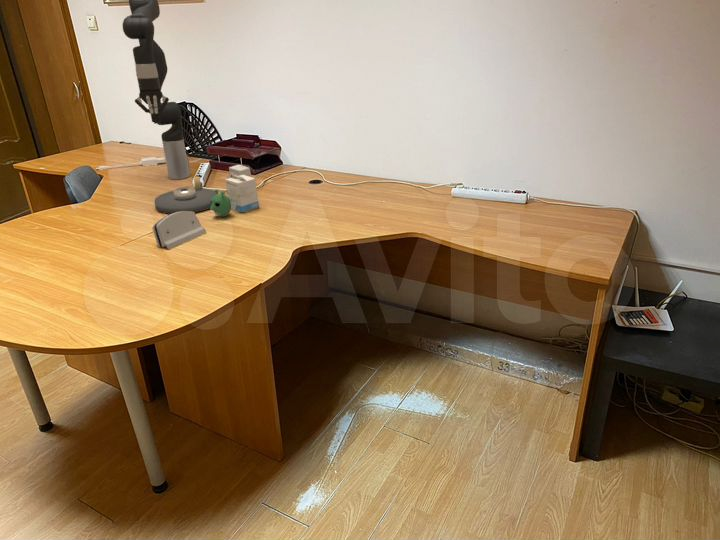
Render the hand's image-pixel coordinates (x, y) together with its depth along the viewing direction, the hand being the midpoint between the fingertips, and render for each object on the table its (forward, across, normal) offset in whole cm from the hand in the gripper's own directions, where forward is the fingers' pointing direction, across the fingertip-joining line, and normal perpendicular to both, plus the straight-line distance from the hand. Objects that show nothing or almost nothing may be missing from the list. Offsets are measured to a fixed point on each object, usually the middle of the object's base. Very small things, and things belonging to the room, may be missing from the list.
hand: (156, 123), depth 199 cm
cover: (+26, -6, +18) cm, 32 cm away
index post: (+29, -13, +4) cm, 32 cm away
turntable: (+29, -7, +18) cm, 34 cm away
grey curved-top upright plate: (+29, -2, +54) cm, 61 cm away
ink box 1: (+29, -29, +14) cm, 43 cm away
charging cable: (+30, +16, -55) cm, 65 cm away
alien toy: (+29, -18, +36) cm, 50 cm away
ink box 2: (+29, -27, +30) cm, 50 cm away
